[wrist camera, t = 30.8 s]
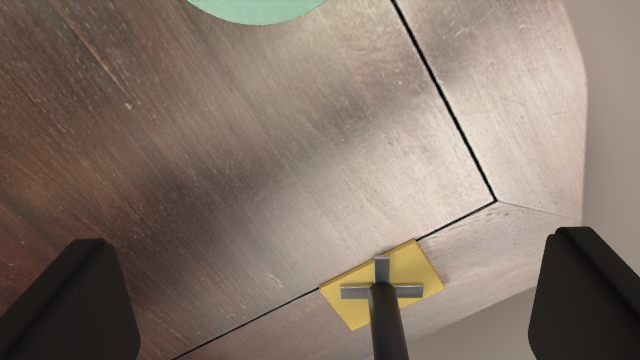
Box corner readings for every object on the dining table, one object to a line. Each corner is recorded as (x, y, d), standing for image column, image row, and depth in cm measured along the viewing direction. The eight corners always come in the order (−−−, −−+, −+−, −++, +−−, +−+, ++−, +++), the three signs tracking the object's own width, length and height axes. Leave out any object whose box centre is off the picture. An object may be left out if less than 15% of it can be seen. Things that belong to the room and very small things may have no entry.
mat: (414, 238, 40) (415, 241, 40) (444, 284, 42) (445, 288, 42) (319, 285, 43) (318, 289, 42) (351, 326, 45) (352, 331, 44)
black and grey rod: (424, 254, 40) (456, 355, 30) (420, 320, 44) (448, 431, 33) (339, 256, 41) (341, 357, 30) (341, 321, 44) (343, 432, 33)
